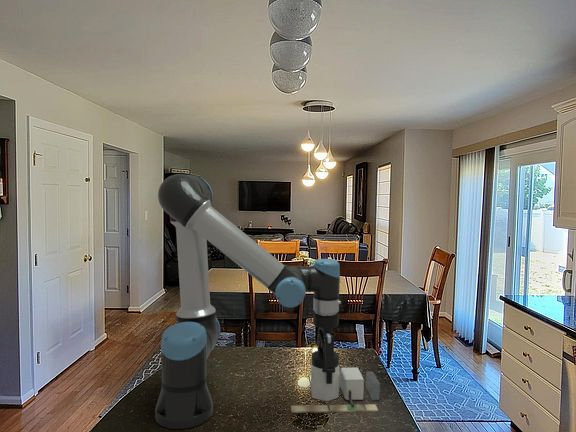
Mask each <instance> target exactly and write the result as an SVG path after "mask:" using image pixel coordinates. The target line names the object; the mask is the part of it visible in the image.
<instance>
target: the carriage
mask: <svg viewBox="0 0 576 432" xmlns="http://www.w3.org/2000/svg"><path fill="white" fill-rule="evenodd" d="M364 382H365V381H364V377H363V375H362V373H361V371H360V369H359V367H341V368H339V389H341V393H342V395H343V397H344V399H345V400H346V401H349V404H350V405H351V406H352V407H354V405H355V403H354V402H353V400H354V401H355V400H359V401H362V400H364V389H365V388H364V385H365V384H364Z"/></svg>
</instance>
